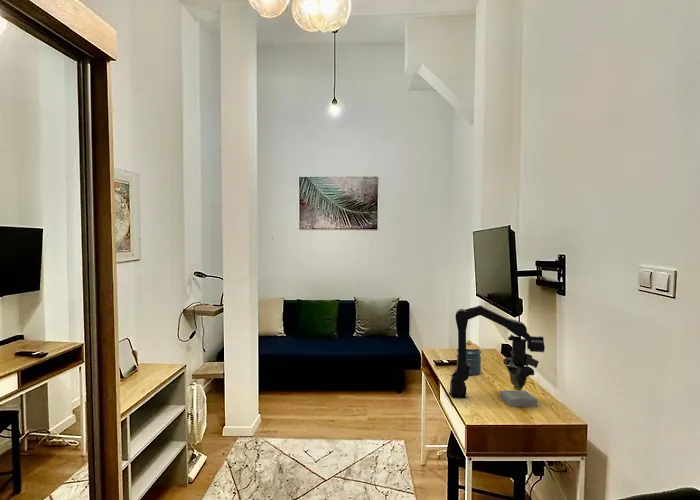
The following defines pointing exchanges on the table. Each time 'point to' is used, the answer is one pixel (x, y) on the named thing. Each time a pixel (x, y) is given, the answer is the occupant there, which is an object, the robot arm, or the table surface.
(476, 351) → the canister
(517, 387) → the cup
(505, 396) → the slate base
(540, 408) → the table surface
